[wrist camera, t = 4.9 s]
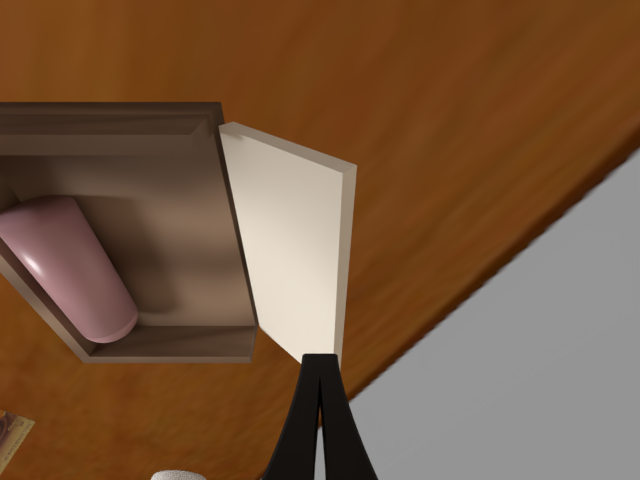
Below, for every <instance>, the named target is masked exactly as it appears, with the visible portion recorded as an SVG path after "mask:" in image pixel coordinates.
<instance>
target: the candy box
mask: <svg viewBox="0 0 640 480" xmlns="http://www.w3.org/2000/svg"><path fill="white" fill-rule="evenodd" d="M34 423H35V421H34V420H31V419H28V418H25V417H22V416H19V415H15V414H12V413H9V412H6V411H4V410H1V409H0V475H1V473H2V472H3V470H4V469H5V467H6V466H7V464H8V463H9V461H10V460H11V458H12V457H13V455H14V454H15V452H16V451H17V449H18V448H19V446H20V445H21V443H22V442H23V440H24V438H25V437H26V435H27V434H28V432H29V431H30V429H31V428H32V426H33V425H34Z"/></svg>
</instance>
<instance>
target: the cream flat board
mask: <svg viewBox="0 0 640 480" xmlns="http://www.w3.org/2000/svg"><path fill="white" fill-rule="evenodd" d="M219 131H220V136H221V141H222V146H223V150H224V155H225V160H226V165H227V170H228V175H229V180H230V185H231V189H232V194H233V199H234V204H235V209H236V214H237V219H238V223H239V228H240V233H241V238H242V243H243V248H244V253H245V258H246V262H247V267H248V272H249V277H250V282H251V287H252V292H253V296H254V301H255V306H256V311H257V316H258V321H259V326H260V329H262V330H263V331H264V332H265V333H266V334H267V335H268V336H270V337H271V338H272V339H273V340H274V341H275V342H277V343H278V344H279V345H280V346H281V347H282V348H283V349H285V350H286V351H287V352H288V353H289V354H290V355H292V356H293V357H294V358H295V359H296V360H297V361H298V362H300V363H301V362H302V355H303V354H305V353H335V354H337V355H338V362H339V368H340V369H341V356H342V344H343V332H344V320H345V307H346V295H347V283H348V271H349V258H350V246H351V234H352V221H353V209H354V197H355V185H356V172H357V165H355V164H352V163H350V162H347V161H344V160H341V159H338V158H335V157H333V156H330V155H327V154H324V153H321V152H318V151H315V150H313V149H310V148H307V147H304V146H301V145H298V144H296V143H293V142H290V141H287V140H284V139H281V138H278V137H276V136H273V135H270V134H267V133H264V132H261V131H259V130H256V129H253V128H250V127H247V126H244V125H242V124H239V123H236V122H230V123H227V124H223V125H220V126H219Z"/></svg>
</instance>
